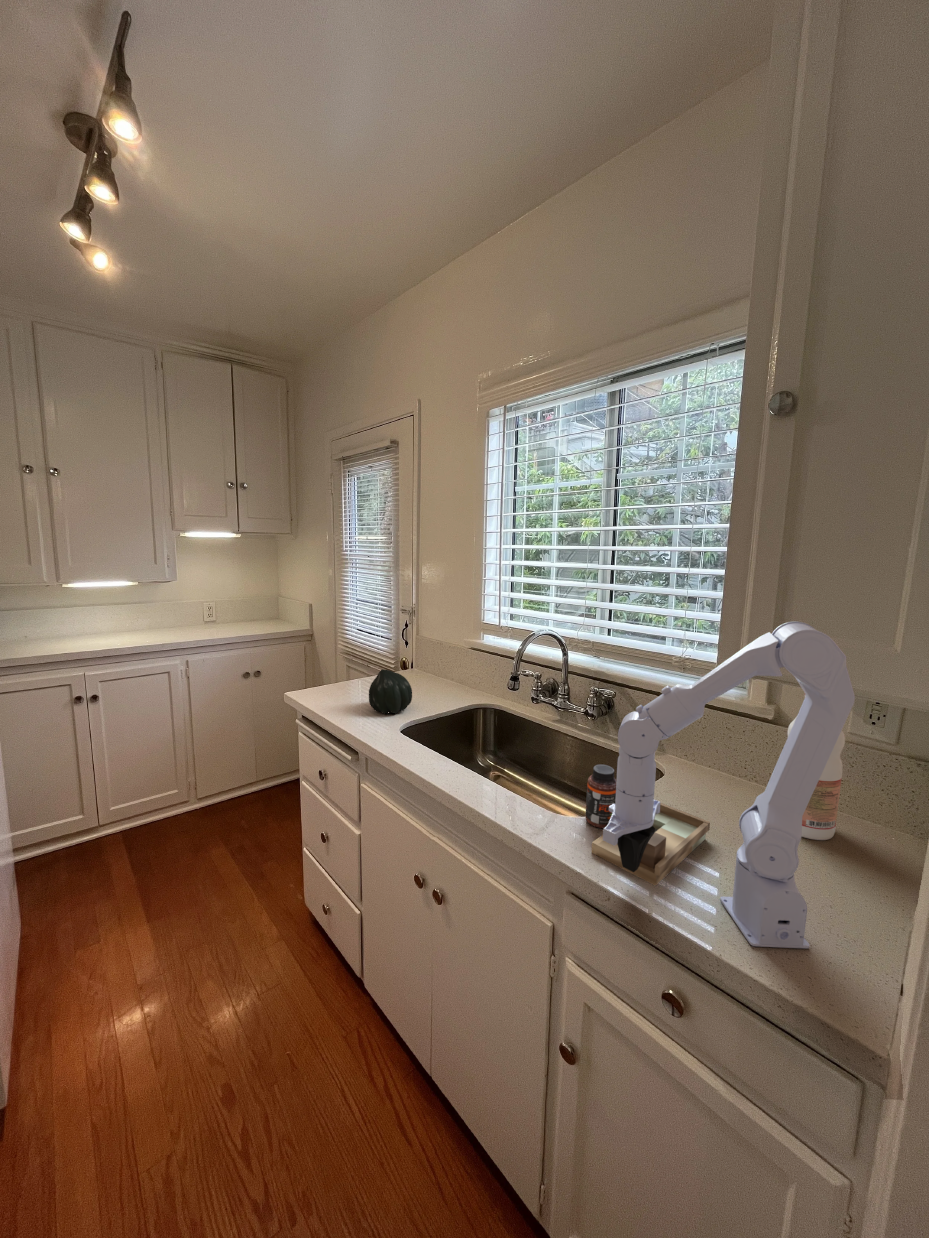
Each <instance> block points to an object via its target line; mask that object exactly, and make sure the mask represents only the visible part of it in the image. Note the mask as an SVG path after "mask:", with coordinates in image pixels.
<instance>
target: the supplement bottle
mask: <svg viewBox="0 0 929 1238" xmlns="http://www.w3.org/2000/svg"><path fill="white" fill-rule="evenodd" d="M616 781H617V778H615V769H614V767H612V766H610V765H607V764H596V765H594V766H593V769H592V774H591V775H590V776H588V778H587V784H586V785H587V786H586V801H585V802H586V803H585V804H586V805H585V820H586V821H587V822H588V824H589V825H591V826H593V827H595V828H599V829H604V828H605V827H606V826H607V825H608V823H609V820H610V818H611V816H612V812H610V811H609V806H611V805H612V804H615V800H616Z"/></svg>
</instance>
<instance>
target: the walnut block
mask: <svg viewBox="0 0 929 1238" xmlns="http://www.w3.org/2000/svg"><path fill="white" fill-rule="evenodd" d="M665 849H666V837H664V836H662V835H660V834H658V833H654V834H653V836H652V837H651V838H650V840H649V842H648V844H647V846H646V848H645V850H644V853H643V856H642V859H641V862H640V863H642V864H644V865H646V866H648V867H650V868H652V869H654V868H655V865H656V864H657V863H658V862H659V861H660V860H662V859H663V858H664V857H665Z"/></svg>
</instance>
